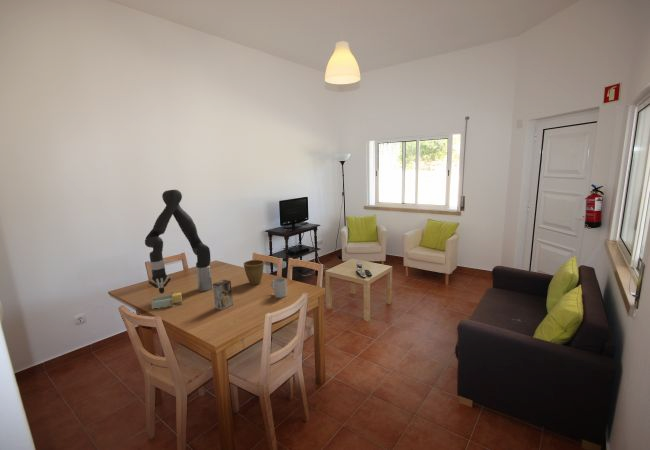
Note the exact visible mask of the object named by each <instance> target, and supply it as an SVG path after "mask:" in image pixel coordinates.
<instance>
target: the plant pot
mask: <svg viewBox="0 0 650 450" xmlns="http://www.w3.org/2000/svg"><path fill="white" fill-rule="evenodd" d="M264 266H265V261H264V260H262V259H251V260H247V261H245V262H243V269H244V272H245V276H246V278H247V279H248V281H249V284H250V285H253V286H254V285H259V284H261V282H262V277H263V273H264V268H265V267H264Z"/></svg>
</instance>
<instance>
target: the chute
mask: <svg viewBox="0 0 650 450" xmlns="http://www.w3.org/2000/svg"><path fill="white" fill-rule="evenodd" d="M173 293H174V291H171V293H169V294H166V295H165V294H164V295H158V296H152V301H151V302H150V303H151V304H150V305H151V310H155V309H154V308H158V309H161V308H160V307H164V308H168V307H167V306H170V308H174V306H173V305H176V306H179V305H180V304H181V305H183V301H182V302H178V303H173V298H172V295H173ZM181 305H180V306H181Z"/></svg>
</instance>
